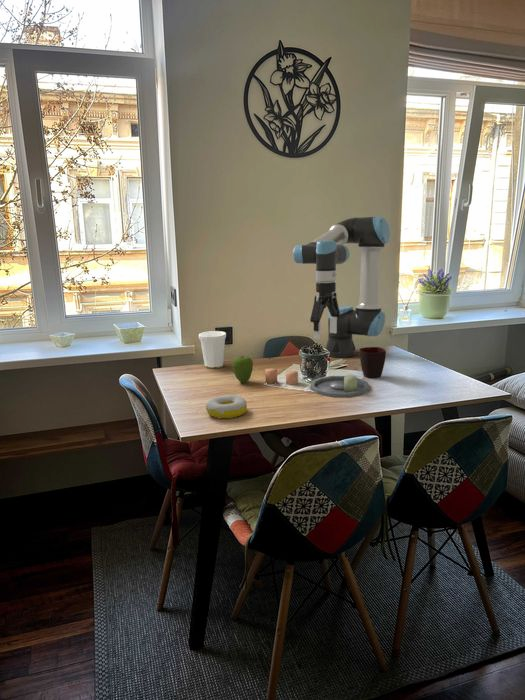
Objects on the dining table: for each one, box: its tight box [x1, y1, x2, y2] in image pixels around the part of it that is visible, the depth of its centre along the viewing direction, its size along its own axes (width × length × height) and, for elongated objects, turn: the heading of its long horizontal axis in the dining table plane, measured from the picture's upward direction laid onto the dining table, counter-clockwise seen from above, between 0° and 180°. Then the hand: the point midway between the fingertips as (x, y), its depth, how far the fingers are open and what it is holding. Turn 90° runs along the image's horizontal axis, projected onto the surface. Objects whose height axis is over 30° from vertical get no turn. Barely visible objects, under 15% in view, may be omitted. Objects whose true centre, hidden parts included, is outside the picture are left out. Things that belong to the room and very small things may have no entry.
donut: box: [205, 394, 248, 419], centre depth 174 cm, size 14×14×5 cm
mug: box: [359, 346, 387, 379], centre depth 209 cm, size 10×14×12 cm
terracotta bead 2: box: [285, 370, 299, 386], centre depth 201 cm, size 5×5×6 cm
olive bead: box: [344, 375, 358, 393], centre depth 189 cm, size 5×5×6 cm
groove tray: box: [309, 375, 370, 398], centre depth 195 cm, size 22×22×2 cm
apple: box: [232, 355, 254, 384], centre depth 206 cm, size 9×8×12 cm
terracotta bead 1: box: [264, 367, 278, 385], centre depth 205 cm, size 5×5×6 cm
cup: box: [198, 330, 227, 368], centre depth 231 cm, size 12×12×15 cm
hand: (325, 336), depth 198 cm, fingers open, 13 cm apart
